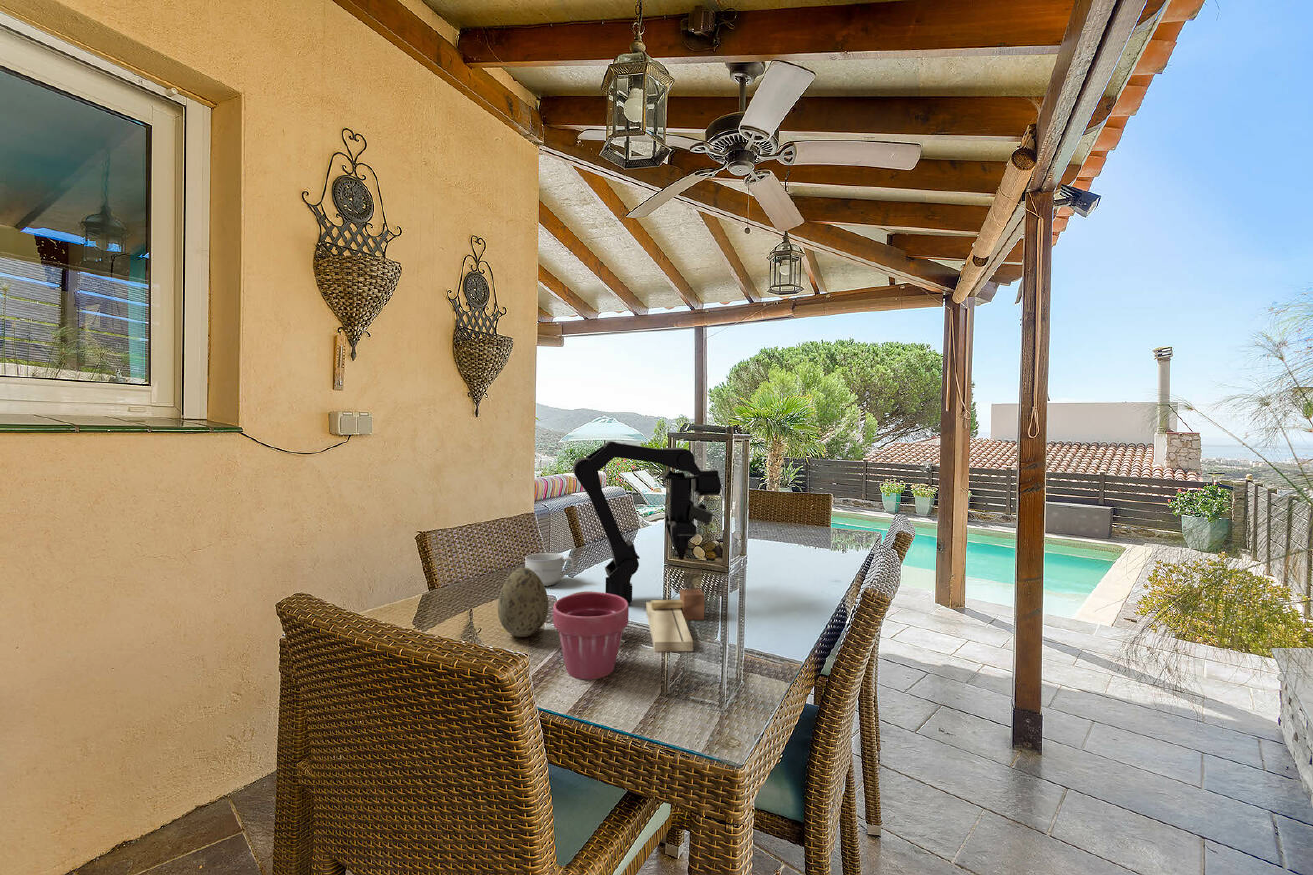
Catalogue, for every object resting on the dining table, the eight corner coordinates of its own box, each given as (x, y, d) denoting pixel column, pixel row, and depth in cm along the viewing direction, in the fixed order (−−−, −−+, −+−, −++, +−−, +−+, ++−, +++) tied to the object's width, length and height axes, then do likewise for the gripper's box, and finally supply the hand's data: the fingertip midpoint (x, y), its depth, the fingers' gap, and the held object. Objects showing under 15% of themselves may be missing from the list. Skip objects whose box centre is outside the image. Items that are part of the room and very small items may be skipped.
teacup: (518, 587, 159) (518, 559, 159) (533, 576, 170) (533, 550, 169) (566, 591, 157) (567, 562, 156) (578, 580, 167) (579, 552, 167)
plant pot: (562, 692, 100) (563, 620, 100) (544, 660, 113) (545, 596, 113) (638, 679, 106) (639, 610, 105) (613, 649, 119) (614, 588, 118)
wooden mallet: (652, 621, 135) (652, 596, 135) (649, 614, 140) (649, 589, 140) (703, 619, 137) (704, 594, 137) (699, 612, 142) (699, 588, 142)
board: (654, 651, 118) (654, 641, 118) (645, 609, 143) (646, 601, 143) (692, 651, 119) (693, 641, 119) (677, 609, 144) (677, 601, 144)
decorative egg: (487, 640, 122) (487, 570, 121) (517, 623, 132) (517, 559, 131) (529, 649, 118) (530, 577, 117) (557, 631, 128) (558, 564, 127)
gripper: (717, 501, 142) (716, 564, 142) (704, 491, 160) (703, 546, 161) (672, 501, 141) (671, 564, 141) (665, 490, 159) (663, 546, 160)
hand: (679, 554), depth 151 cm, fingers open, 9 cm apart
